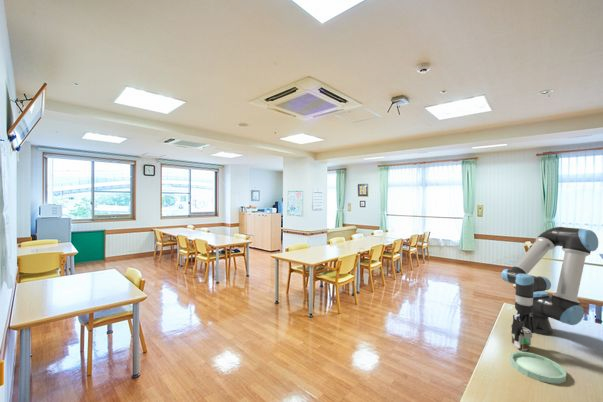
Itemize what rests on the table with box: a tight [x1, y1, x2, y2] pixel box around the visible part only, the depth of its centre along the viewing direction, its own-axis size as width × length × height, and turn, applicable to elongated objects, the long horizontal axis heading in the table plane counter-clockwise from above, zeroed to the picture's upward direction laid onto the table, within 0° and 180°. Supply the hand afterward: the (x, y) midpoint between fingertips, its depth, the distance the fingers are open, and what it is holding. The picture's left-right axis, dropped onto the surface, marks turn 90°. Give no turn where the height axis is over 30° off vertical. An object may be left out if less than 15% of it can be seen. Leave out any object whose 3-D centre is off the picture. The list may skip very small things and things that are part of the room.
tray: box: [509, 351, 567, 385], centre depth 130 cm, size 20×20×2 cm
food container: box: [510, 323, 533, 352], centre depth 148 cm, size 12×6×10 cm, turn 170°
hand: (522, 345), depth 148 cm, fingers closed on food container, 8 cm apart
